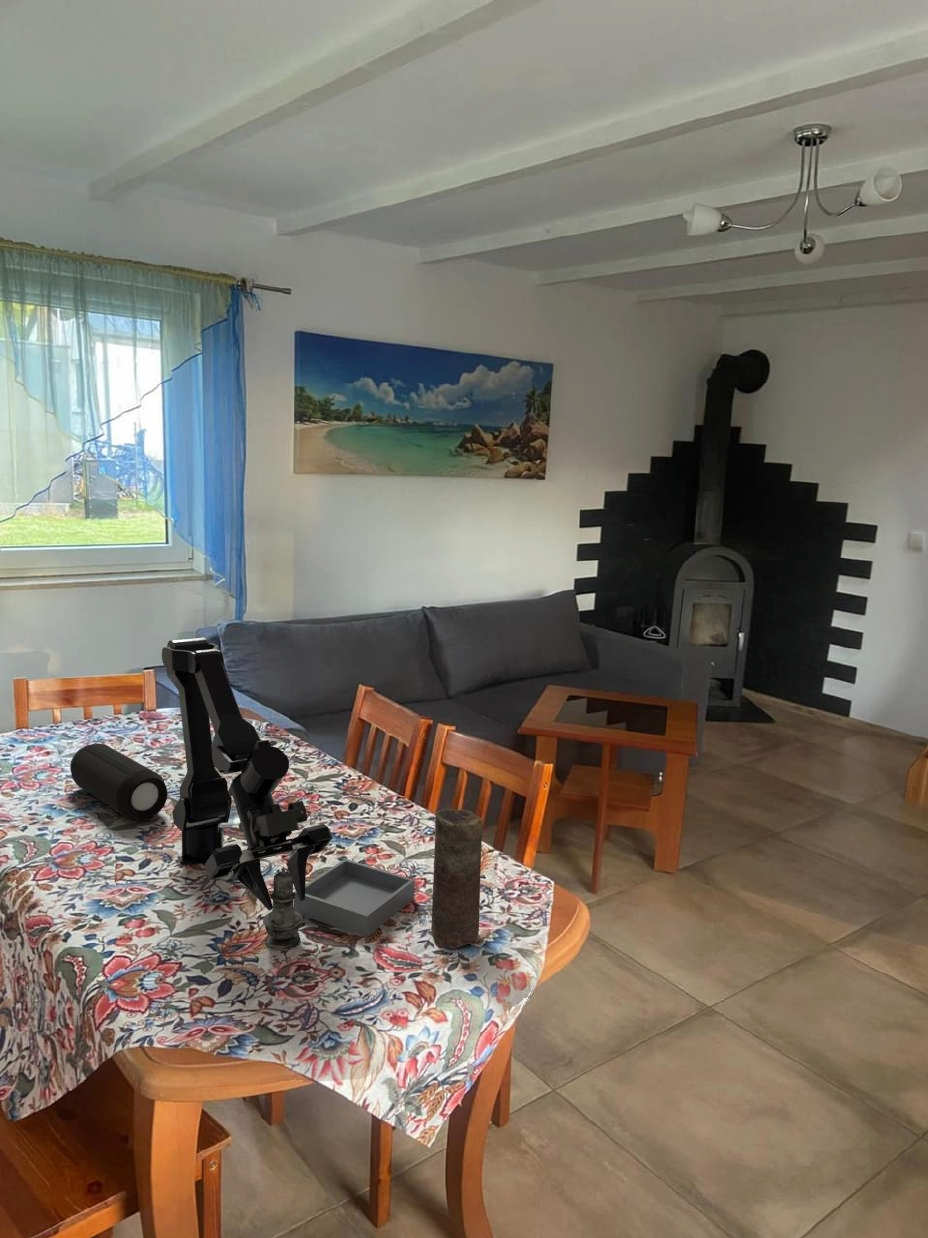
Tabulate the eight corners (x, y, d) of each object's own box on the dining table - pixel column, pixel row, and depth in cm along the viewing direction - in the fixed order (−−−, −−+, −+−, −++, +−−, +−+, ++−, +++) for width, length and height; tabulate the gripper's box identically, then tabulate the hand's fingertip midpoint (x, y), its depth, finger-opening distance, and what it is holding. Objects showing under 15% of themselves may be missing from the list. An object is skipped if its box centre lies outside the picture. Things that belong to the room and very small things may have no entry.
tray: (293, 912, 143) (293, 892, 143) (344, 877, 156) (345, 858, 155) (366, 937, 137) (367, 916, 136) (414, 899, 149) (414, 879, 149)
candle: (429, 924, 142) (434, 804, 138) (475, 924, 142) (481, 805, 139) (431, 951, 134) (437, 825, 130) (480, 950, 135) (487, 825, 131)
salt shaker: (293, 954, 132) (294, 878, 129) (256, 948, 133) (256, 873, 130) (308, 934, 137) (309, 861, 135) (272, 928, 138) (272, 855, 136)
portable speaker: (172, 816, 178) (171, 768, 176) (124, 830, 171) (122, 780, 169) (112, 780, 195) (111, 736, 193) (66, 791, 188) (64, 745, 186)
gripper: (211, 798, 128) (242, 902, 122) (328, 774, 139) (362, 869, 133) (192, 829, 136) (220, 929, 129) (304, 805, 147) (335, 896, 140)
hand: (287, 904), depth 133 cm, fingers open, 5 cm apart
